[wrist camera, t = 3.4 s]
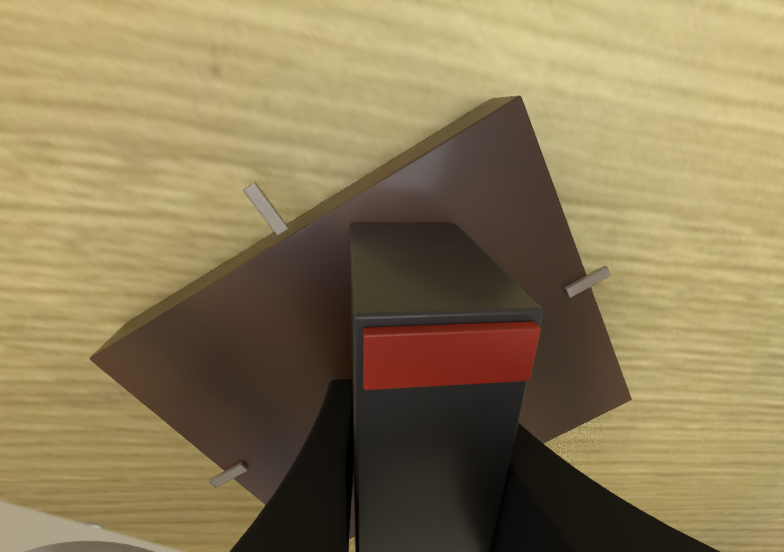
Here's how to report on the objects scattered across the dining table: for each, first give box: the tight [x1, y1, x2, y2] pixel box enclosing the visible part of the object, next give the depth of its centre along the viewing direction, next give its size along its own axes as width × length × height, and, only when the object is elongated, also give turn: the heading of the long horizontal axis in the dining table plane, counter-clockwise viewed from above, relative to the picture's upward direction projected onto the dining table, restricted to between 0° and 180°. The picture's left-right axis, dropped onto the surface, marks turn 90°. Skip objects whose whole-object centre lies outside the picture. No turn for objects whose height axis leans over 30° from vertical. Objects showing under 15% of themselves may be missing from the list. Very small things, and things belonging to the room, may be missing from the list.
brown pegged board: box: [90, 96, 632, 539], centre depth 13 cm, size 15×15×2 cm
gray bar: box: [349, 224, 543, 552], centre depth 10 cm, size 11×3×5 cm, turn 178°
